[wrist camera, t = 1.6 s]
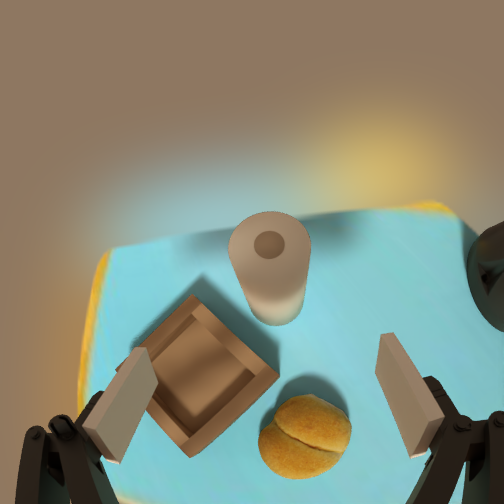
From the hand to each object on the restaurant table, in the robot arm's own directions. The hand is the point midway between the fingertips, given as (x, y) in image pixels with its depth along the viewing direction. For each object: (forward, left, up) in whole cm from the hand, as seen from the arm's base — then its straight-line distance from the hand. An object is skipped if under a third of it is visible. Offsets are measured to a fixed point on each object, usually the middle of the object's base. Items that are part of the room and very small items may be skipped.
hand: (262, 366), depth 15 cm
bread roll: (-6, +2, -15) cm, 16 cm away
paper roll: (+6, -7, -14) cm, 17 cm away
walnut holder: (+6, +5, -14) cm, 16 cm away
